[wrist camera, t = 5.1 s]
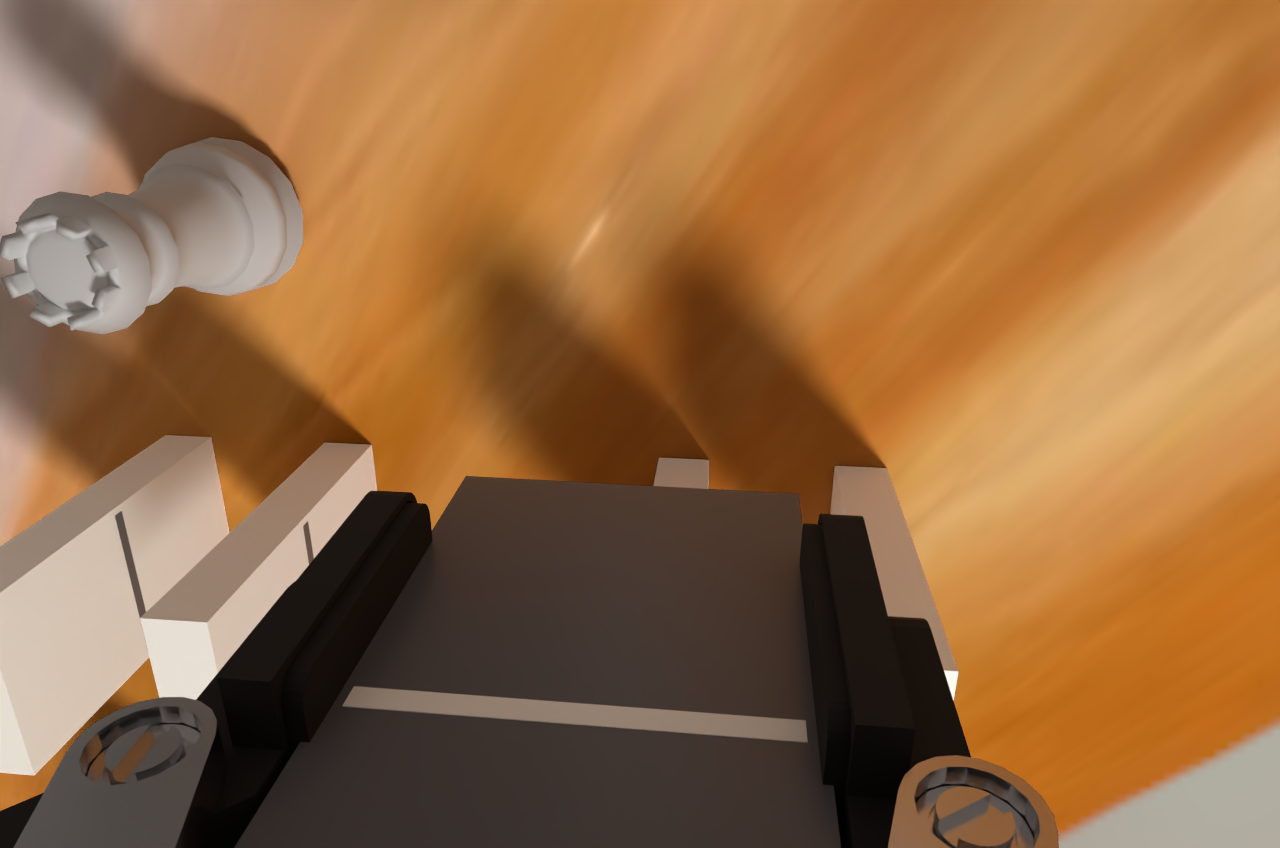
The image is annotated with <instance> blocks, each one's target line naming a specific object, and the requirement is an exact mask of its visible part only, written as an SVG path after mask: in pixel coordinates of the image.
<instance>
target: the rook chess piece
mask: <svg viewBox="0 0 1280 848" xmlns="http://www.w3.org/2000/svg"><path fill="white" fill-rule="evenodd" d="M15 223H16V224H17V228H16V232H15V233H13V234H9V235H5V236H2V239H1V243H0V257H2V258H5V259H8V260H12V259H14V264H15V270H16V273H14V274H11V275H8V276H5V277H2V278H1V279H2V281H3V283H4V285H5V287H6V289H7V291H8V293H9V294H10V296H11V298H12V299H14V298H16V297H19V296H22V295H25V294H27V295H28V296H29V297H30V298H31V299H32V300H33V301H34V302H35V303H36V304H37V305H38V306H36V307H34V309H33V311H32V312H31V314H30V316H29V317H31V318H33V319H35V320H37V321H39V322H41V323H42V324H44V325H46V326H48V327H52V326H55V325H57V324H60V323H62V322H63V323H65V324H67V325H68V326H70V329H71V331H72V330H75V329H76V330H78V331H85V332H91V333H98V334H107V333H111V332H115V331H118V330H122V329H126V328H128V327H129V326H130V325H131V324H132V323H133V322H134V321H135V320H136V319H137V318H138V317H140V316H141V315H142V314H143V313H144V311H145V308H146V306H150V305H153V304H157V303H160V302H161V301H162V300H163V299H164V298H165V297H166V296H167V295H168V294H169V293H170V292H171V291H172V290H173V289H174V288H176V287H181V286H185V287H190V288H193V289H195V290H197V291H199V292H206V293H213V294H220V295H230V296H234V295H237V294H241V293H245V292H248V291H252V290H256V289H259V288H260V287H264V286H267V285H271V284H274V283H275V282H276V281H277V280H279V279H280V278H281V277H282V276H283V275H284V274H285V273H286V272H288V271H289V270H290V269H291V268H292V267H293V266H294V263H295V261H296V258H297V256H298V253H299V251H300V248H301V246H302V243H303V212H302V209H301V207H300V204H299V202H298V199H297V197H296V194H295V192H294V189H293V187H292V184H291V182H290V181H289V179H288V178H287V177H286V176H285V175H284V174H283V173H282V171H281V170H280V169H279V168H278V167H277V166H276V164H275V163H274V162H273V161H272V160H271V159H270V158H269V157H268V156H266V155H265V154H263V153H261V152H259V151H258V150H256V149H254V148H252V147H251V146H249V145H247V144H245V143H244V142H242V141H237V140H230V139H223V138H216V137H210V138H206V139H203V140H200V141H197V142H194V143H190V144H187V145H185V146H182V147H179V148H176V149H173V150H169V151H168V152H167V153H166V154H165V155H163V156H162V157H161V158H160V159H159V160H158V161H157V162H156V164H155V165H154V166H153V167H152V168H151V169H150V170H149V171H148V172H147V173H146V174H145V176H144V179H143V182H142V184H141V185H140V186H139V188H138V190H137V191H135V192H133V193H131V194H129V195H123V194H116V193H110V192H105V193H102V194H99V195H96V196H92V197H90V196H87V195H80V194H73V193H66V192H57V193H54V194H51V195H48V196H44V197H41V198H38V199H36V200H35V201H34V202H33V203H32V204H31V205H30V206H29V207H28V208H27V209H26V210H25V211H24V212H23V213H22V215H21V216H20V217H19V221H18V222H15Z"/></svg>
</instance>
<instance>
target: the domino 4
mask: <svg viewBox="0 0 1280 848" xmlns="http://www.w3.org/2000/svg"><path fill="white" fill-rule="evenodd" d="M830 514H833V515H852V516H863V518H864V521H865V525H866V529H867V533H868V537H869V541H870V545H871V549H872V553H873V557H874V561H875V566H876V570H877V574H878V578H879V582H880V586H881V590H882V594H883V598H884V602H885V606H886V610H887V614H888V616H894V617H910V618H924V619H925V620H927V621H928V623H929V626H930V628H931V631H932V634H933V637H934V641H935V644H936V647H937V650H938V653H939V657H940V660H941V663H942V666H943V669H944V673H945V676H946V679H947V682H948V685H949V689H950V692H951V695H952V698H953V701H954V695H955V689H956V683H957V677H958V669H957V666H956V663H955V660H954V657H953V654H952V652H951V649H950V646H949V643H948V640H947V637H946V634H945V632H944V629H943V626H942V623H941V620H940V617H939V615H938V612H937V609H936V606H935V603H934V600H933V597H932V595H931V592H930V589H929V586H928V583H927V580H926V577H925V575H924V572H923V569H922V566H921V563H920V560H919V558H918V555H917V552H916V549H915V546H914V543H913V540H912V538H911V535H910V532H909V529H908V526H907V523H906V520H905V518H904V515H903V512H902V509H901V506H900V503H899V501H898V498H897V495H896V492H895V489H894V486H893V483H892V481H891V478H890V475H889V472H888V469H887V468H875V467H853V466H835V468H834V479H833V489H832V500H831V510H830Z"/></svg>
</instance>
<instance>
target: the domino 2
mask: <svg viewBox="0 0 1280 848" xmlns="http://www.w3.org/2000/svg"><path fill="white" fill-rule="evenodd" d="M370 491H377V485H376V477H375V468H374V460H373V451H372V445H369V444H347V443H325V442H324V443H323V444H322V445H321V446H320V447H319V448H318V449H317V450H316V451H315V452H314V453H313V454H312V455H311V456H310V457H309V458H308V459H307V460H306V461H305V462H303V463H302V464H301V465H300V466H299V467H298V468H297V469H296V470H295V471H294V472H293V473H292V474H291V475H290V476H289V477H288V478H287V479H286V480H285V481H284V482H282V483H281V484H280V485H279V486H278V487H277V488H276V489H275V490H274V491H273V492H272V493H271V494H270V495H269V496H268V497H267V498H266V499H265V500H264V501H263V502H261V503H260V504H259V505H258V506H257V507H256V508H255V509H254V510H253V511H252V512H251V513H250V514H249V515H248V516H247V517H246V518H245V519H244V520H243V521H242V522H240V523H239V524H238V525H237V526H236V527H235V528H234V529H233V530H232V531H231V532H230V533H229V534H228V535H227V536H226V537H225V538H224V539H223V540H222V541H221V542H219V543H218V544H217V545H216V546H215V547H214V548H213V549H212V550H211V551H210V552H209V553H208V554H207V555H206V556H205V557H204V558H203V559H202V560H201V561H199V562H198V563H197V564H196V565H195V566H194V567H193V568H192V569H191V570H190V571H189V572H188V573H187V574H186V575H185V576H184V577H183V578H182V579H181V580H180V581H178V582H177V583H176V584H175V585H174V586H173V587H172V588H171V589H170V590H169V591H168V592H167V593H166V594H165V595H164V596H163V597H162V598H161V599H160V600H159V601H157V602H156V603H155V604H154V605H153V606H152V607H151V608H150V609H149V610H148V611H147V612H146V613H145V614H144V615H143V616H142V617H141V618H140V620H141V624H142V628H143V633H144V637H145V641H146V645H147V649H148V653H149V657H150V661H151V665H152V669H153V673H154V677H155V682H156V686H157V690H158V694H159V698H161V697H185V698H189V699H194V700H196V699H197V698H198V697H199V695H200V694H201V693H202V692H203V691H204V689H205V688H206V687H207V686H208V684H209V683H210V682H211V681H212V680H213V678H214V677H215V676H216V675H217V673H218V672H219V671H220V670H221V669H222V667H223V666H224V665H225V664H226V662H227V661H228V660H229V659H230V658H231V656H232V655H233V654H234V653H235V651H236V650H237V649H238V648H239V647H240V645H241V644H242V643H243V642H244V640H245V639H246V638H247V637H248V635H249V634H250V633H251V632H252V631H253V629H254V628H255V627H256V626H257V624H258V623H259V622H260V621H261V620H262V618H263V617H264V616H265V615H266V613H267V612H268V611H269V610H270V609H271V607H272V606H273V605H274V604H275V602H276V601H277V600H278V599H279V598H280V596H281V595H282V594H283V593H284V591H285V590H286V589H287V588H288V587H289V586H290V585H291V584H292V583H293V582H295V581H296V580H297V579H298V578H299V577H300V575H301V574H302V573H303V572H304V570H305V569H306V568H307V567H308V565H309V564H310V563H311V562H312V561H313V559H314V558H315V557H316V556H317V554H318V553H319V552H320V551H321V549H322V548H323V547H324V546H325V545H326V543H327V542H328V541H329V540H330V538H331V537H332V536H333V535H334V533H335V532H336V531H337V530H338V529H339V527H340V526H341V525H342V524H343V522H344V521H345V520H346V519H347V517H348V516H349V515H350V514H351V513H352V511H353V510H354V509H355V508H356V506H357V505H358V504H359V503H360V501H361V500H362V499H363V498H364V496H365V495H366V494H367V493H368V492H370Z"/></svg>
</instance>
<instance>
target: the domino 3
mask: <svg viewBox="0 0 1280 848" xmlns="http://www.w3.org/2000/svg"><path fill="white" fill-rule="evenodd" d="M802 529H803V525H802V517H801V509H800V500H799V494H794V493H776V492H757V491H738V490H719V489H700V488H681V487H662V486H643V485H625V484H606V483H587V482H568V481H549V480H530V479H511V478H493V477H474V476H466V477H465V479H464V480H463V482H462V483H461V485H460V487H459V488H458V490H457V491H456V493H455V495H454V496H453V498H452V499H451V501H450V503H449V504H448V506H447V507H446V509H445V511H444V512H443V514H442V515H441V517H440V519H439V520H438V522H437V523H436V525H435V527H434V528H433V530H432V543H431V544H430V546H429V547H428V549H427V551H426V552H425V554H424V556H423V557H422V559H421V561H420V562H419V564H418V566H417V567H416V569H415V570H414V572H413V574H412V575H411V577H410V579H409V580H408V582H407V584H406V585H405V587H404V588H403V590H402V592H401V593H400V595H399V597H398V598H397V600H396V602H395V603H394V605H393V607H392V608H391V610H390V611H389V613H388V615H387V616H386V618H385V620H384V621H383V623H382V625H381V626H380V628H379V630H378V631H377V633H376V634H375V636H374V638H373V639H372V641H371V643H370V644H369V646H368V648H367V649H366V651H365V652H364V654H363V656H362V657H361V659H360V661H359V662H358V664H357V666H356V667H355V669H354V671H353V672H352V674H351V675H350V677H349V679H348V680H347V682H346V684H345V685H344V687H343V689H342V690H341V692H340V694H339V695H338V697H337V698H336V700H335V702H334V703H333V705H332V707H331V708H330V710H329V712H328V713H327V715H326V716H325V718H324V720H323V721H322V723H321V725H320V726H319V728H318V730H317V731H316V733H315V735H314V736H313V738H312V739H311V741H310V743H309V742H300V743H299V745H298V746H297V748H296V750H295V751H294V753H293V754H292V756H291V758H290V759H289V761H288V762H287V764H286V766H285V767H284V769H283V770H282V772H281V774H280V775H279V777H278V778H277V780H276V782H275V783H274V785H273V786H272V788H271V790H270V791H269V793H268V794H267V796H266V798H265V799H264V801H263V802H262V804H261V806H260V807H259V809H258V810H257V812H256V814H255V815H254V817H253V818H252V820H251V822H250V823H249V825H248V827H247V828H246V830H245V831H244V833H243V835H242V836H241V838H240V839H239V841H238V843H237V844H236V846H235V847H234V848H841V842H840V834H839V826H838V817H837V809H836V801H835V792H834V785H823V783H822V773H821V764H820V754H819V745H818V735H817V726H816V716H815V707H814V697H813V687H812V678H811V668H810V659H809V649H808V640H807V630H806V621H805V611H804V602H803V592H802V582H801V573H800V563H799V562H800V550H801V538H802Z"/></svg>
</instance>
